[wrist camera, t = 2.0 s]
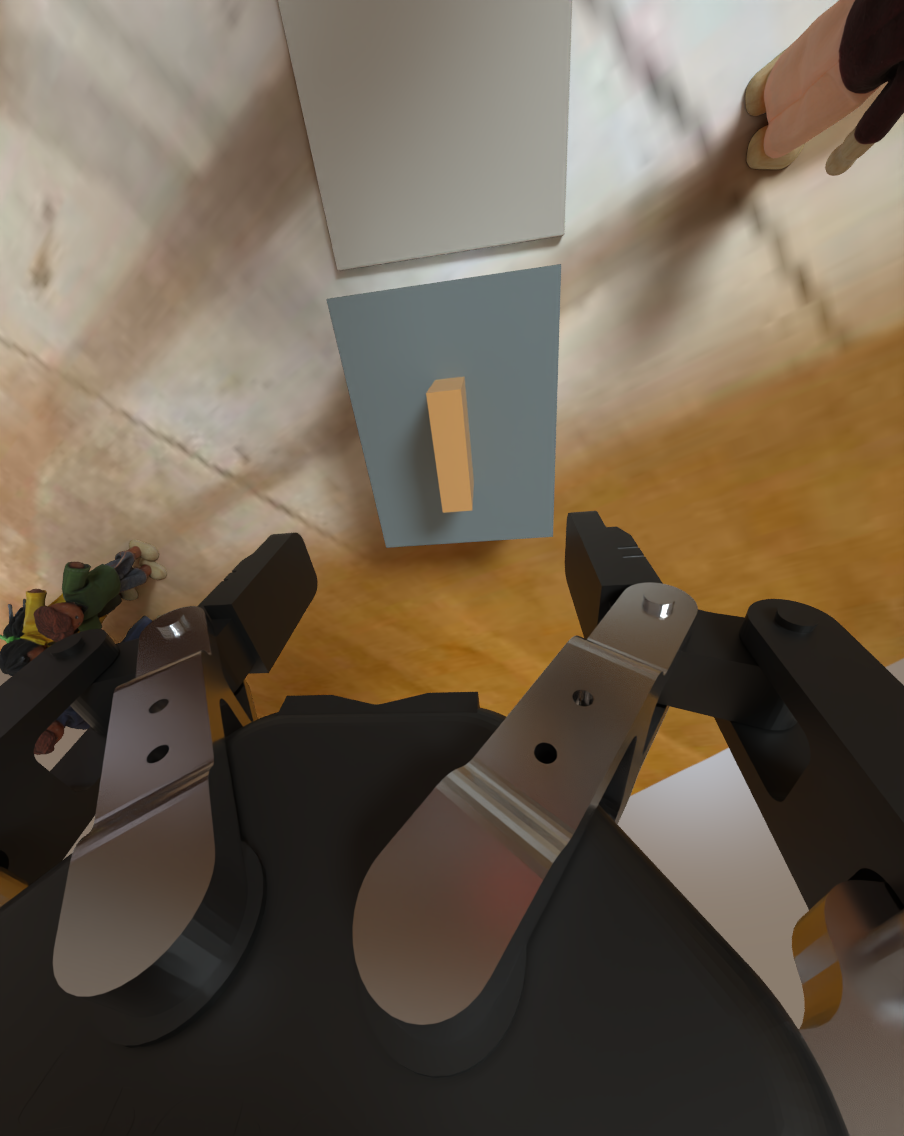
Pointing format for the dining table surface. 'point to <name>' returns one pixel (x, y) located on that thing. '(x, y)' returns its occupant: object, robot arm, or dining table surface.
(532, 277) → the lid
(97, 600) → the doll family
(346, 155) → the mat
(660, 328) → the dining table surface
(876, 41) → the grandmother figurine
